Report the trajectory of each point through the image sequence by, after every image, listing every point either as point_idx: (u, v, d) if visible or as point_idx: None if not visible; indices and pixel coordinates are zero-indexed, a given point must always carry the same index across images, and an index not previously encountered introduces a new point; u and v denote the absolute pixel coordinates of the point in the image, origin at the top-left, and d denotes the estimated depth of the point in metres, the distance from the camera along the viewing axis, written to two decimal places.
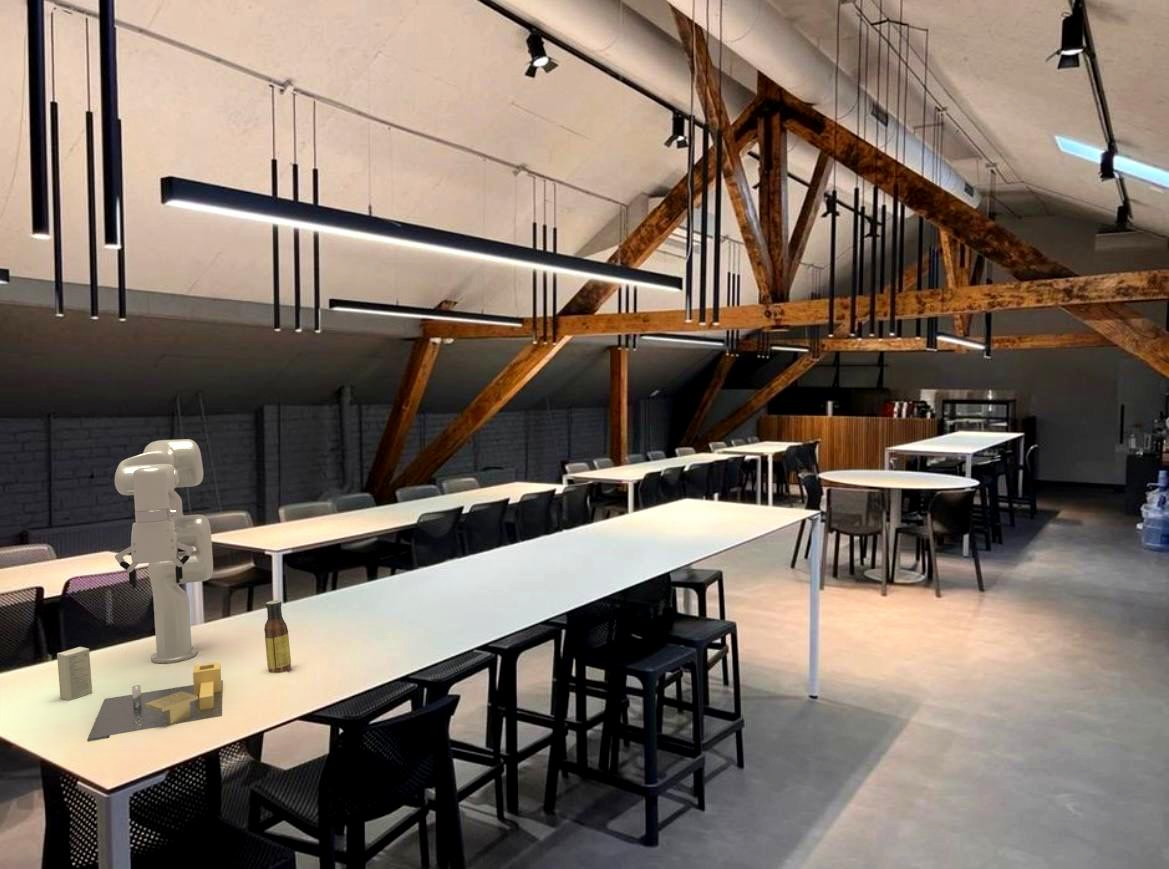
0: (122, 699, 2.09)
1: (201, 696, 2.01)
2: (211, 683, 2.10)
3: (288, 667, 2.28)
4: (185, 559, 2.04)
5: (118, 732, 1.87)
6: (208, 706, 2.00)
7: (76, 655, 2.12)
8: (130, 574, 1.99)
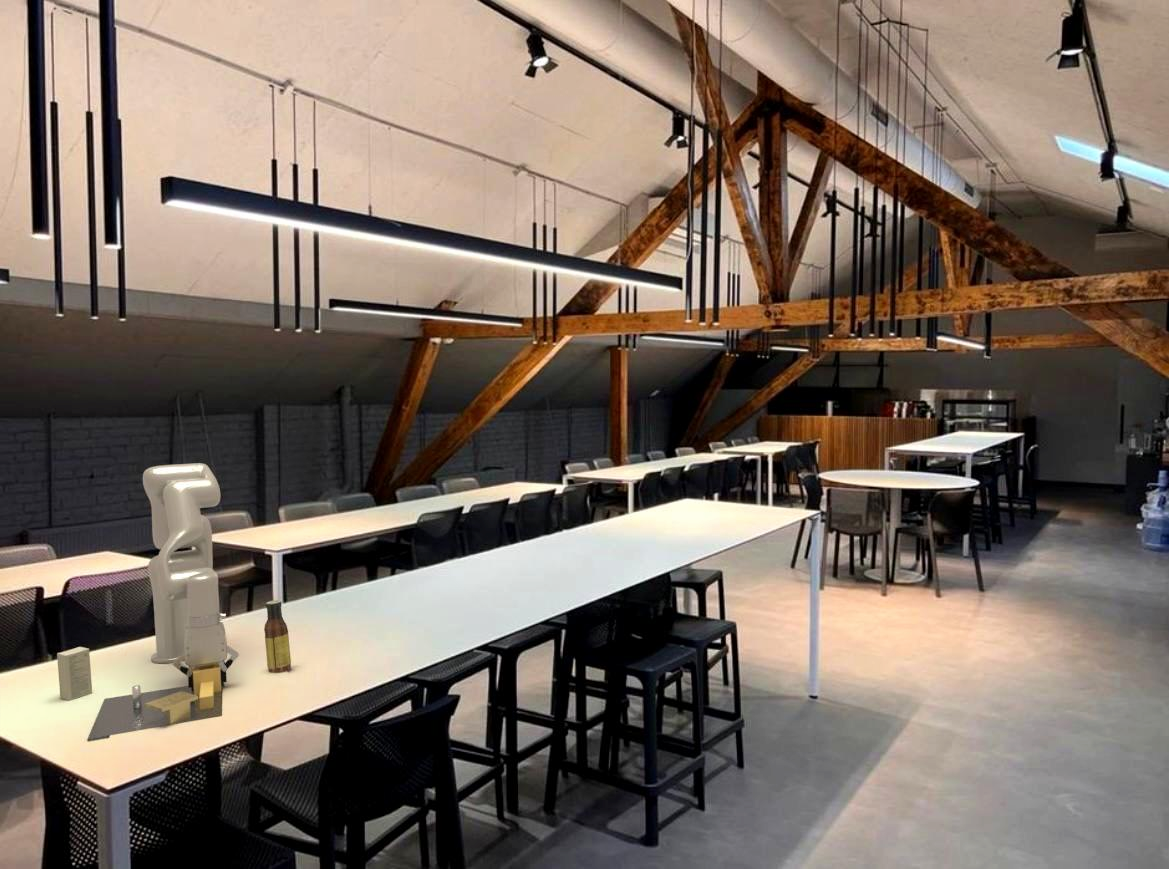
0: (122, 699, 2.09)
1: (201, 696, 2.01)
2: (211, 683, 2.10)
3: (288, 667, 2.28)
4: (229, 663, 2.15)
5: (118, 732, 1.87)
6: (208, 706, 2.00)
7: (76, 655, 2.12)
8: (189, 678, 2.11)
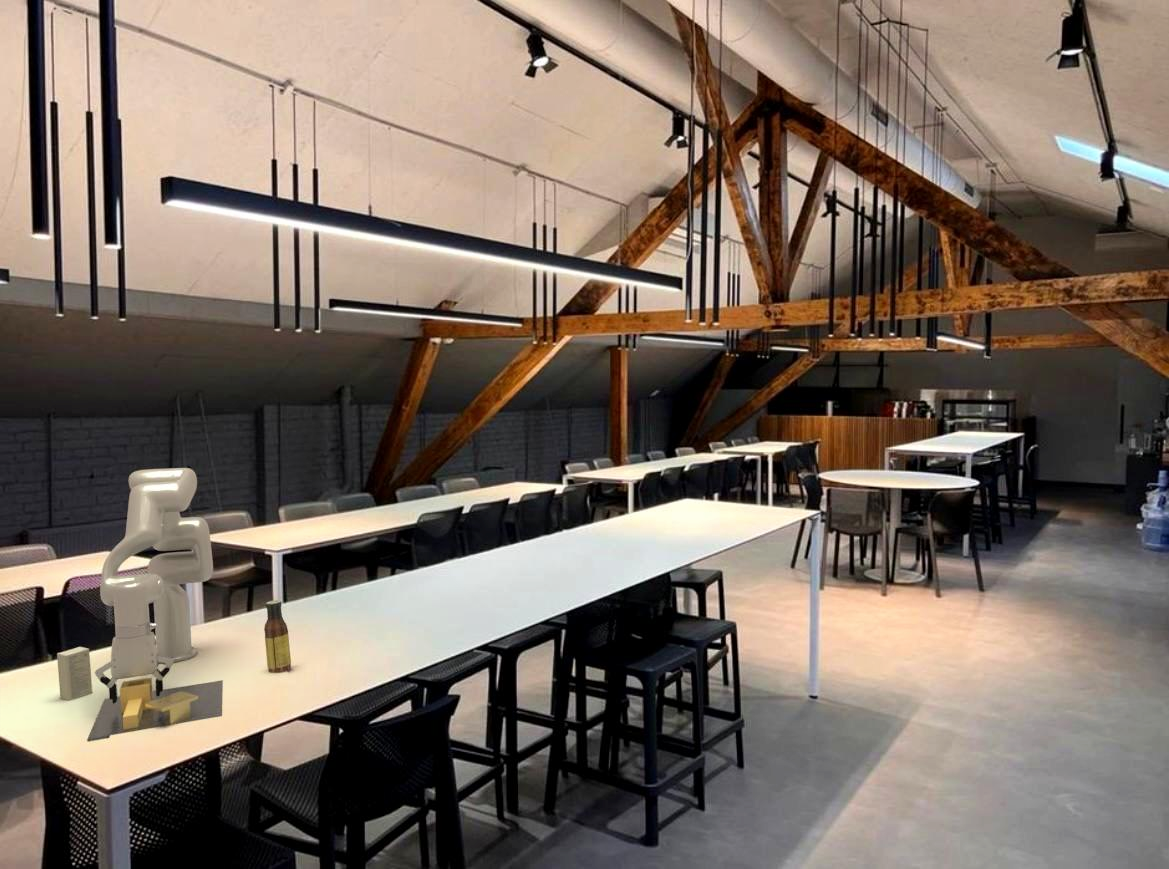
0: None
1: (125, 715, 1.90)
2: (139, 700, 1.99)
3: (288, 667, 2.28)
4: (165, 672, 2.05)
5: (118, 732, 1.87)
6: (132, 726, 1.90)
7: (76, 655, 2.12)
8: (110, 689, 2.00)
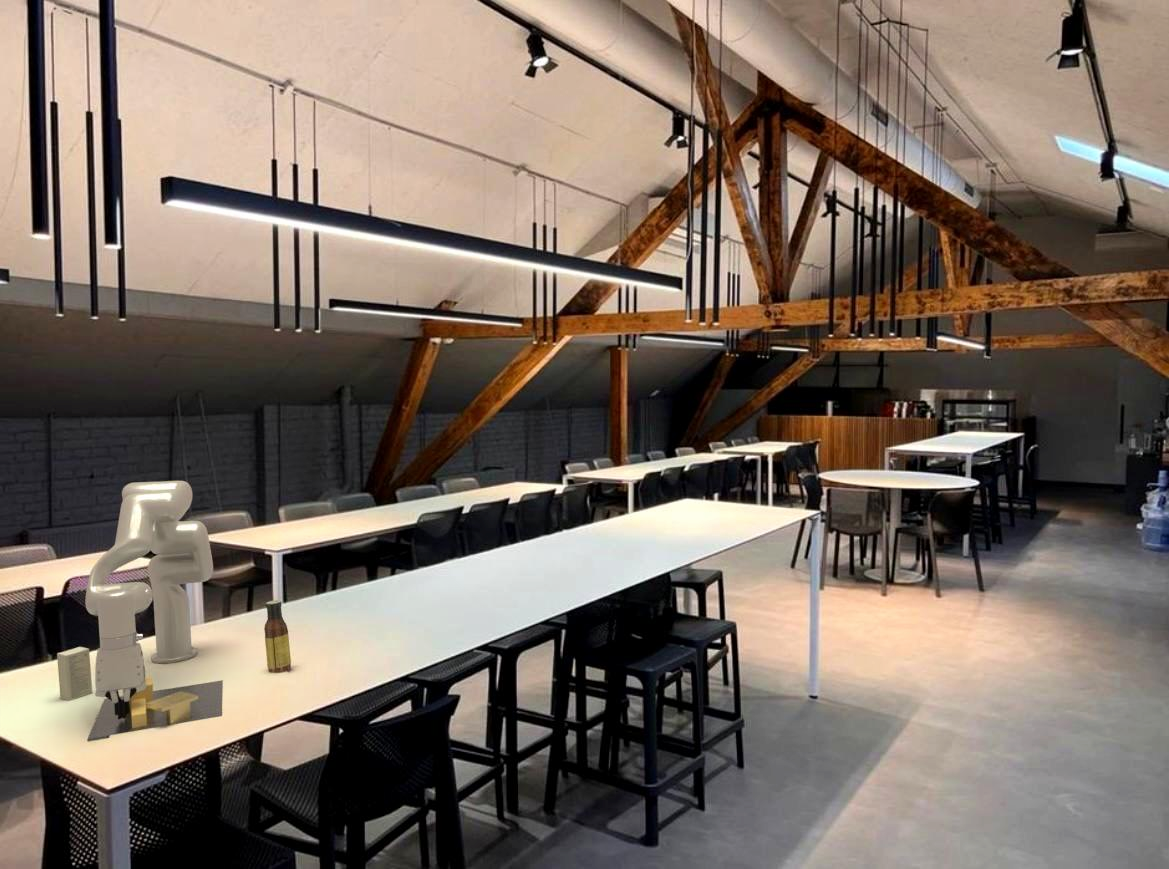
0: (122, 699, 2.09)
1: (133, 714, 1.90)
2: (143, 700, 1.99)
3: (288, 667, 2.28)
4: (132, 692, 1.95)
5: (118, 732, 1.87)
6: (141, 724, 1.90)
7: (76, 655, 2.12)
8: (116, 705, 1.93)
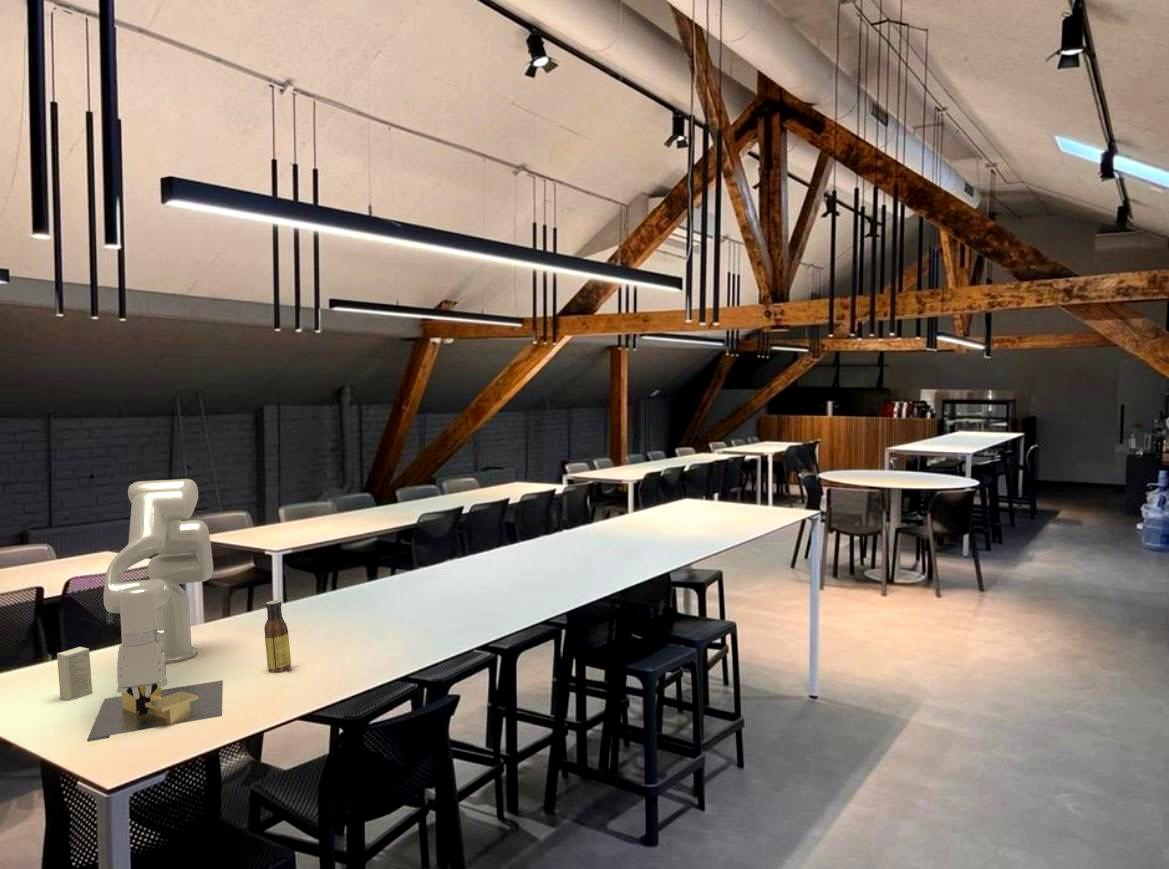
0: None
1: None
2: (156, 696, 2.01)
3: (288, 667, 2.28)
4: (153, 689, 1.96)
5: (118, 732, 1.87)
6: None
7: (76, 655, 2.12)
8: (137, 701, 1.95)
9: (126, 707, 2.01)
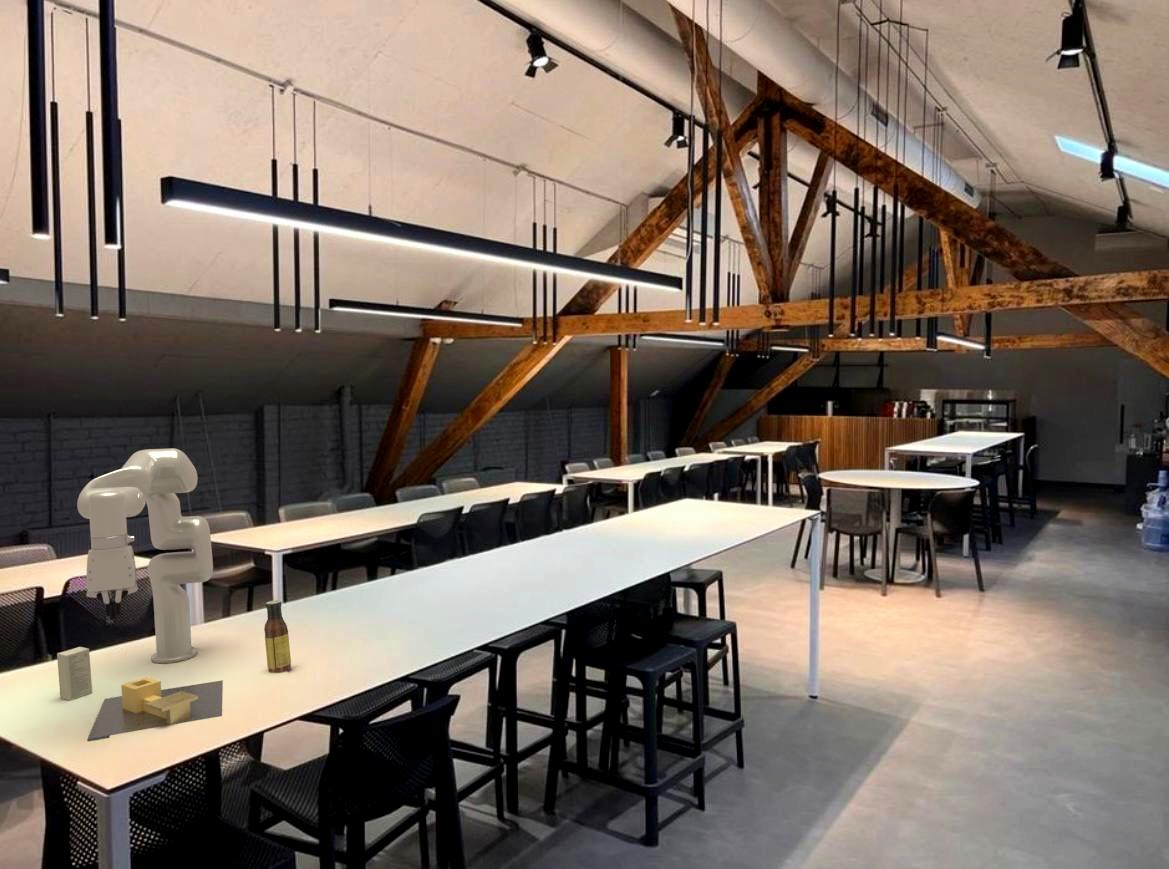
0: None
1: None
2: (156, 696, 2.01)
3: (288, 667, 2.28)
4: (123, 594, 1.94)
5: (118, 732, 1.87)
6: None
7: (76, 655, 2.12)
8: (107, 606, 1.93)
9: (126, 707, 2.01)
